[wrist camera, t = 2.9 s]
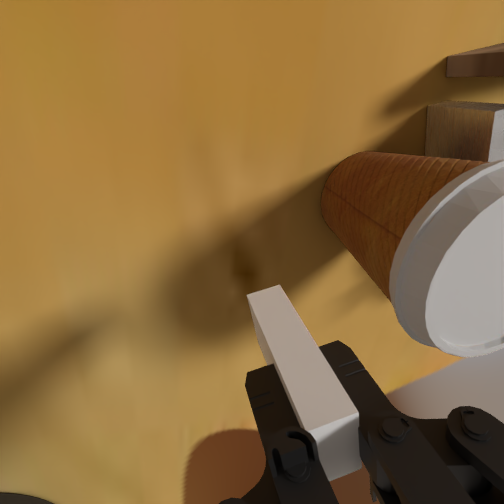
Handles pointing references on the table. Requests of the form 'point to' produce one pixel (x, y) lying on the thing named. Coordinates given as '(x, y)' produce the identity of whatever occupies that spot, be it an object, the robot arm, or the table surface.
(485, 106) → the gauge plunger
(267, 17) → the table surface
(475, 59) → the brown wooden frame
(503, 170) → the disposable coffee cup
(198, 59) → the table surface
